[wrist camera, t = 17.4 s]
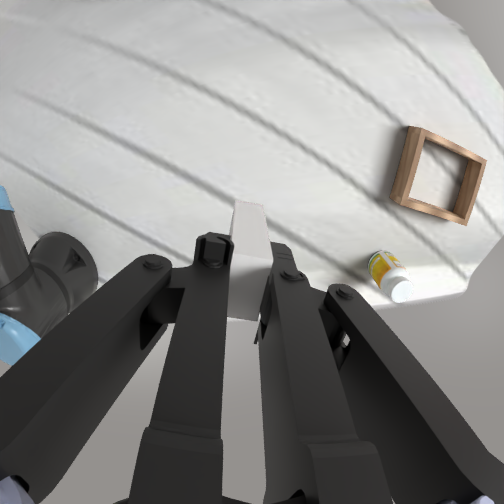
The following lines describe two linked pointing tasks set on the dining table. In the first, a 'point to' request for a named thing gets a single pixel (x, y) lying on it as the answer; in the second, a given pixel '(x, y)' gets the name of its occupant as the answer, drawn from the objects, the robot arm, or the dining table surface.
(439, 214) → the stand
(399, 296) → the supplement bottle
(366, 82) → the dining table surface
